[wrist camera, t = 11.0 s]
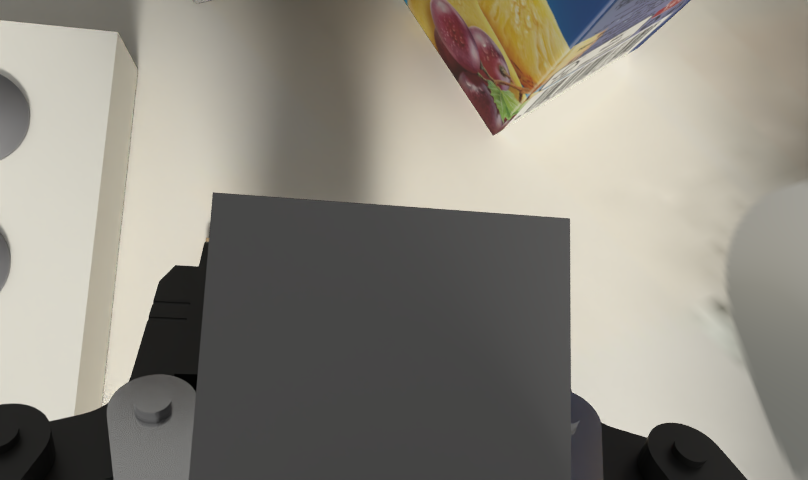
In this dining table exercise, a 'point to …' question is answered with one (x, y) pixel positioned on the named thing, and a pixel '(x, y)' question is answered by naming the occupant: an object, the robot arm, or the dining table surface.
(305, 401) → the block
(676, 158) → the dining table surface
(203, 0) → the coffee box
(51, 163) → the power strip
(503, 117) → the cereal box
